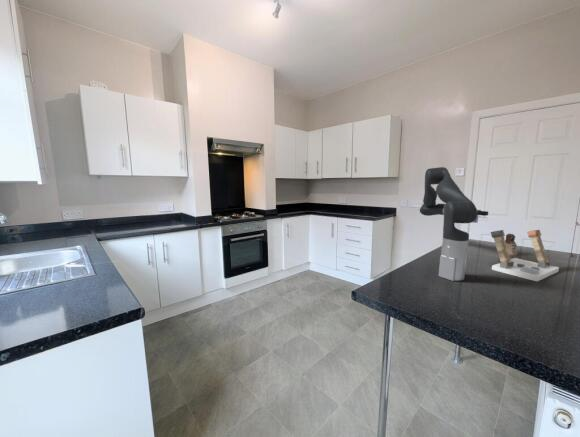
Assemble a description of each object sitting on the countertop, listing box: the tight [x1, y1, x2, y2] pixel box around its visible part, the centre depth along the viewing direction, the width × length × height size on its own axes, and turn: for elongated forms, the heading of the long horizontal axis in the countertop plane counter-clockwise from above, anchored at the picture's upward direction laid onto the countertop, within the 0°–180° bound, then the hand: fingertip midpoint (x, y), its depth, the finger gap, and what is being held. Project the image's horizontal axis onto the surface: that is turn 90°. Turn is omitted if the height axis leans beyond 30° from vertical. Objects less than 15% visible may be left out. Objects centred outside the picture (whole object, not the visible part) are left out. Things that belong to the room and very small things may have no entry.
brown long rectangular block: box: [526, 229, 550, 266], centre depth 116 cm, size 6×3×17 cm, turn 118°
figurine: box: [505, 233, 518, 257], centre depth 140 cm, size 7×7×12 cm
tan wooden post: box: [490, 229, 512, 266], centre depth 115 cm, size 6×3×17 cm, turn 118°
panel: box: [491, 257, 560, 282], centre depth 115 cm, size 24×16×4 cm, turn 118°
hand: (486, 213), depth 133 cm, fingers closed
